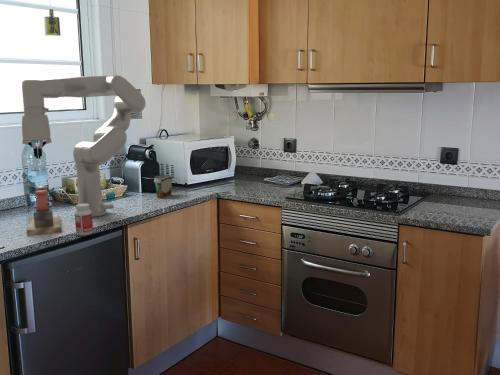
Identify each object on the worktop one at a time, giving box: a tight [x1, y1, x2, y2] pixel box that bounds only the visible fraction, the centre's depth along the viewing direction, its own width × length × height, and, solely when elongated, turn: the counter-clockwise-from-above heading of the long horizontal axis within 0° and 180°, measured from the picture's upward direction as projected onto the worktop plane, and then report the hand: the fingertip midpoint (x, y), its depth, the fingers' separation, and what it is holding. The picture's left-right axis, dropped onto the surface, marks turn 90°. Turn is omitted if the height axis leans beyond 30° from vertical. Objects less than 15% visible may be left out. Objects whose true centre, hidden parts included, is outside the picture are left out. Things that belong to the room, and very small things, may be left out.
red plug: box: [34, 189, 48, 212], centre depth 203 cm, size 4×4×9 cm
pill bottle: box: [74, 203, 94, 236], centre depth 198 cm, size 6×6×11 cm
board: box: [26, 201, 63, 236], centre depth 210 cm, size 12×22×8 cm, turn 21°
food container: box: [153, 174, 173, 200], centre depth 266 cm, size 12×6×10 cm, turn 161°
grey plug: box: [34, 185, 48, 205], centre depth 213 cm, size 4×4×9 cm
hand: (38, 158), depth 210 cm, fingers closed
